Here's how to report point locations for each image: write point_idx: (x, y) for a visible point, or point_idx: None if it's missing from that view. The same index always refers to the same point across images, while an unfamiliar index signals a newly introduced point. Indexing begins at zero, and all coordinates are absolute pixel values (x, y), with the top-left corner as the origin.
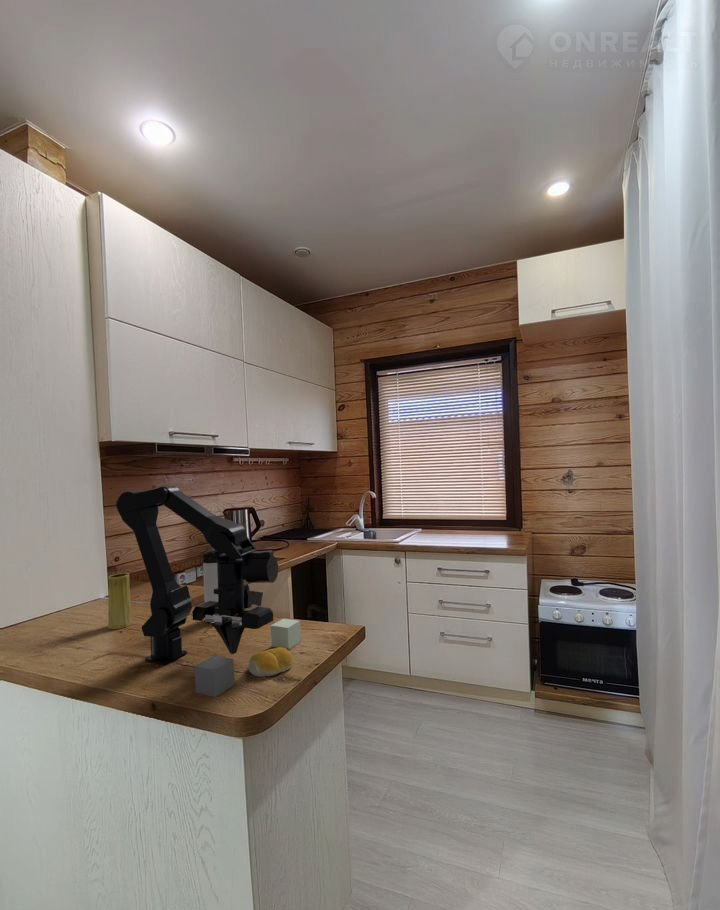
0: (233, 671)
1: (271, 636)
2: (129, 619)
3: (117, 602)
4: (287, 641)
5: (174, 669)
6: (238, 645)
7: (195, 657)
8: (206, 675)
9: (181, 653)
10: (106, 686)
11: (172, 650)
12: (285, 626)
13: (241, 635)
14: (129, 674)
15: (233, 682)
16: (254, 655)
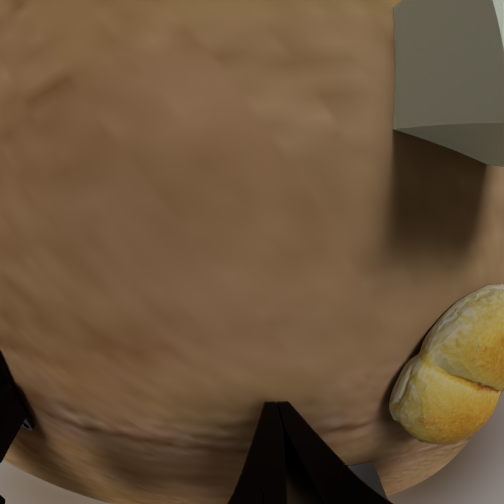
0: (383, 491)
1: (439, 127)
2: None
3: None
4: None
5: (92, 448)
6: (311, 428)
7: (51, 374)
8: None
9: (10, 390)
10: (60, 485)
11: (14, 436)
12: None
13: (354, 475)
14: (32, 455)
15: (373, 469)
16: (438, 441)
